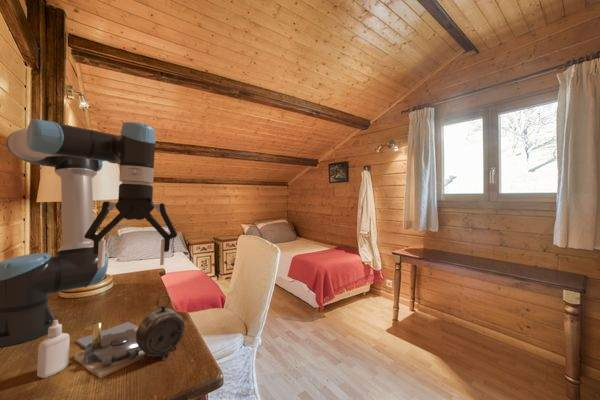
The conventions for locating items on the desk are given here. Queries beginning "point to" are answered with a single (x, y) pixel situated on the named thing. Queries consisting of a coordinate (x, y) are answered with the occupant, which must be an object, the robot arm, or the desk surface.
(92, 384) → the desk surface
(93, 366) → the plate
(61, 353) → the eye dropper bottle
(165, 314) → the alarm clock
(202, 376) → the desk surface
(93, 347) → the sprocket
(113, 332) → the pad
